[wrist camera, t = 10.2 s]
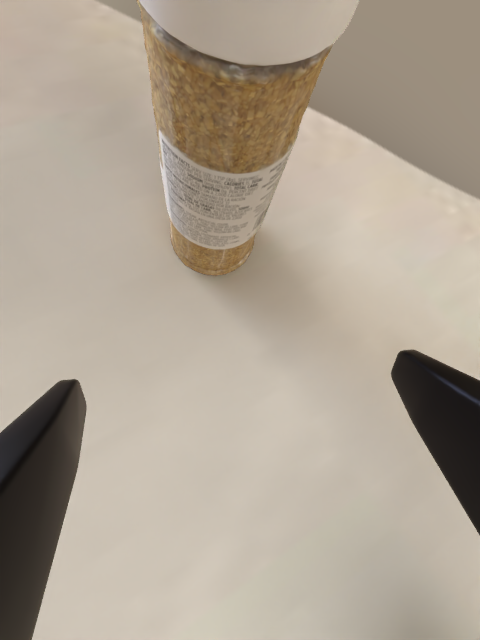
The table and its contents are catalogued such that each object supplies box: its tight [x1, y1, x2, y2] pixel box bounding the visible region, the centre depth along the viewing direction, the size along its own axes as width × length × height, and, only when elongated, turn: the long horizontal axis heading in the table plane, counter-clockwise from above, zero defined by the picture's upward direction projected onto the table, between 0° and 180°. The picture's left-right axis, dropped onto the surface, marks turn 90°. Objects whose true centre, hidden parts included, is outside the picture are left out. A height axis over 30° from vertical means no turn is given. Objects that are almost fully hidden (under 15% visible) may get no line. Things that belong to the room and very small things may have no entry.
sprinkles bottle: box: [137, 0, 359, 276], centre depth 11 cm, size 5×5×13 cm
